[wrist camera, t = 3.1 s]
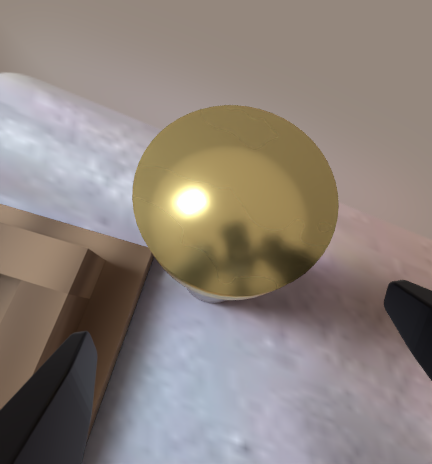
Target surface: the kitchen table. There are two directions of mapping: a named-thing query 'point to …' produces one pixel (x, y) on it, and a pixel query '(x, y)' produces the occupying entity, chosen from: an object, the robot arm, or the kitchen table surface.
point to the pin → (234, 202)
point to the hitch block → (63, 295)
